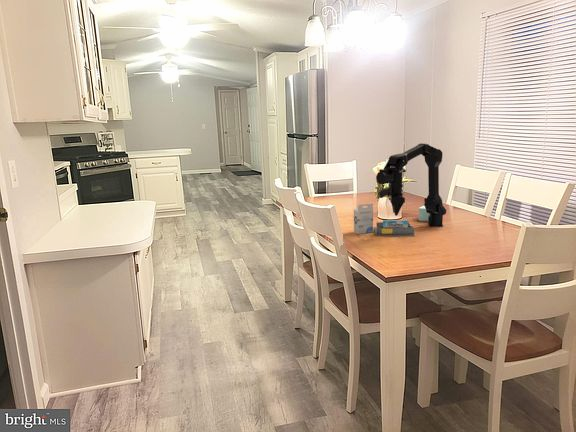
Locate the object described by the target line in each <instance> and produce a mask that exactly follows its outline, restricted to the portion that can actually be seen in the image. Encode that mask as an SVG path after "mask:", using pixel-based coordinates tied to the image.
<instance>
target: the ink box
mask: <svg viewBox="0 0 576 432" xmlns="http://www.w3.org/2000/svg"><path fill="white" fill-rule="evenodd" d="M373 205H374V204H373V203H361V204H358V205H357V208H354V209H353V232H354V233H355V234H358V235H361V234H368V233H373V232H374V206H373Z"/></svg>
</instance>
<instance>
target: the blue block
mask: <svg viewBox="0 0 576 432" xmlns="http://www.w3.org/2000/svg"><path fill="white" fill-rule="evenodd" d="M408 222H409V221H408V220H406V219H403V220H402V219H400V220H399V219H395V220H394V219H388V220H387V219H386V220H385V219H384V220H382V228H408Z"/></svg>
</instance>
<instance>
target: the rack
mask: <svg viewBox="0 0 576 432" xmlns="http://www.w3.org/2000/svg"><path fill="white" fill-rule="evenodd" d="M373 230H374V232H375V235H376V237H415V236H416V234H415V227H414V226H413V225H411V224H410V222H409V221H408V228H382V222H381V221H380V222H379V221H378V222H377V221H376V226H375V227H374V226H373Z"/></svg>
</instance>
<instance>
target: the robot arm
mask: <svg viewBox="0 0 576 432" xmlns="http://www.w3.org/2000/svg"><path fill="white" fill-rule="evenodd" d="M419 156H422V157H424V162H425V164H426V165H427V169H428V171H427V172H428V173H427V175H428V177H427V178H428V179H427V181H428V185H427V187H428V195H427V196H426V197H424V198H423V199H424V201H423V202H424V204H423V206H425V208H426V212H427V213H429V216H428V221H427V224H428V225H429V227H444V224H443V222H444V221H443V219H444V215H446V214H447V209H446V208H445V206H444V205H443V199H442V197H441V196H440V190H439V189H440V186H439V185H440V184H439V183H440V182H439V177H440V173H439V167H440V165H441V163H442V161H443V151H442V150H441V149H439V148H436V147H434V146H432V145H429V143H424V142H423V143H418V144H417V145H416V146H413V147H412V148H410V149H408V150H406V151H404V152H402V153H397V154H392V155H390V156H389V157H388V160H387V162H386V164H385V165H384V167H383V169H379V170H378V171H379V172H377V174H376V175H375V177H376V178H375V180H376V182H377V183H378V185H384V184H388V186H387V187H383V188H380V189H378V190H377V194H378V196H379V198H380V199H382V198H384V197H386V196H387V198H388V200H389V201H390V204H391V207H392V212H393V213H394V216H396V217H397V216H399V213H400V211H401V209H402V207H403V205H404V204H405V203H406V198H405V196H403V187H404V184H403V176H404V175H403V174H404V173H406V172H407V171H406V169H405V168H404V167H406V166H407V165H408V164H409V162H410V161H411V160H413V159H415V158H416V157H419Z"/></svg>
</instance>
